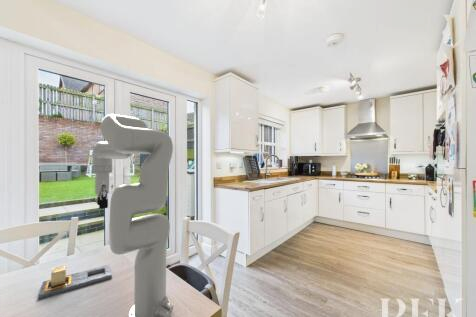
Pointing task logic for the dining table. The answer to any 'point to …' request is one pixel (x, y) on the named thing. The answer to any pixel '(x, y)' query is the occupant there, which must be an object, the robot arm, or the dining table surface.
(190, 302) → the dining table surface
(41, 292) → the socket plate
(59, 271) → the brass plug
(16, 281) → the dining table surface
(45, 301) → the dining table surface
